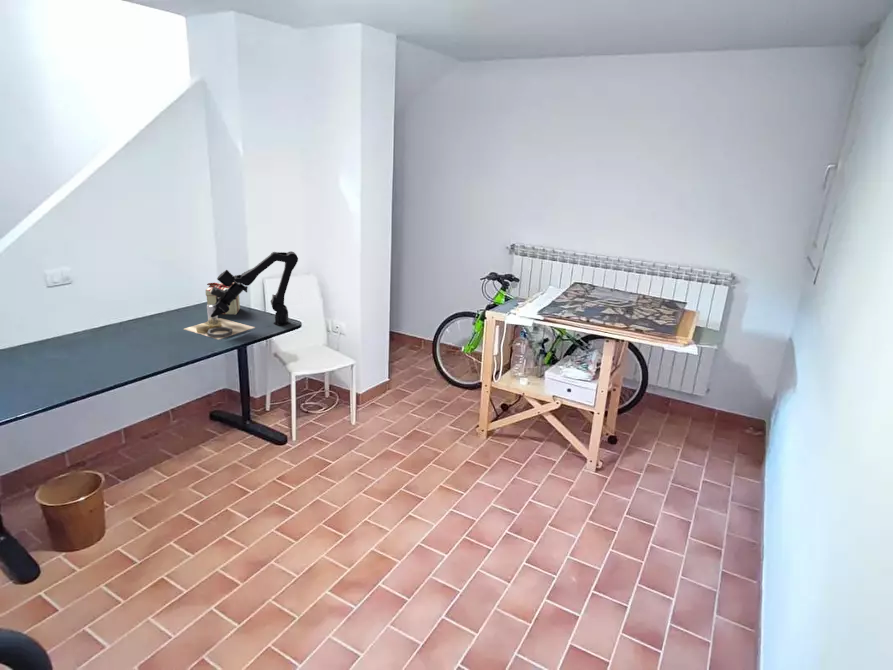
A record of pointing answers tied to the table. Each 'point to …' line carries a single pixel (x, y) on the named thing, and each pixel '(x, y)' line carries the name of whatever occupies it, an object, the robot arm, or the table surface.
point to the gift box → (211, 298)
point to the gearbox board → (224, 324)
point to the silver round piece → (212, 321)
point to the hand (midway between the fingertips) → (211, 314)
